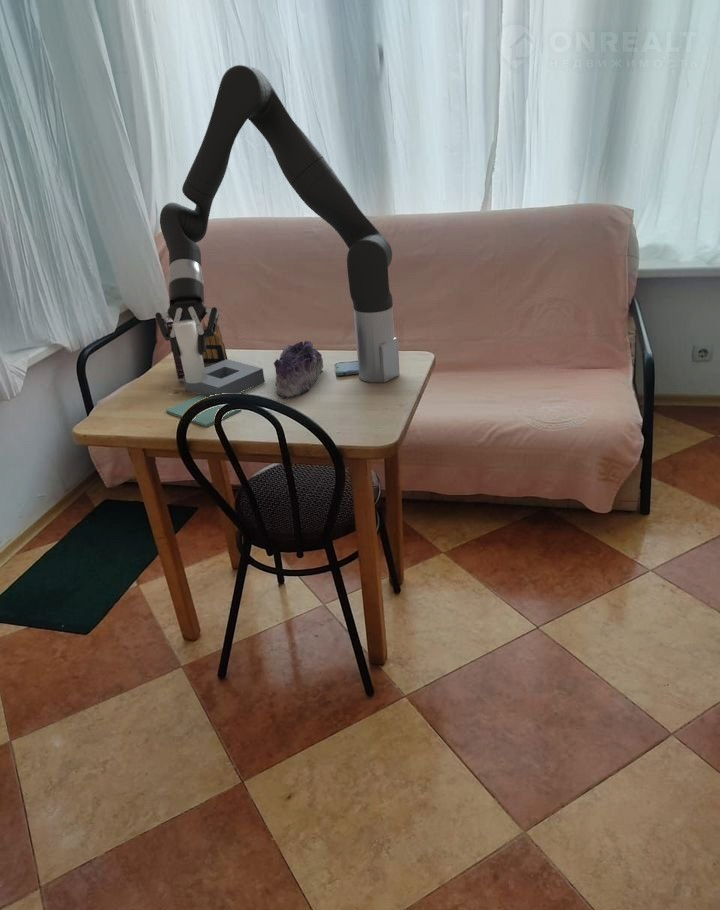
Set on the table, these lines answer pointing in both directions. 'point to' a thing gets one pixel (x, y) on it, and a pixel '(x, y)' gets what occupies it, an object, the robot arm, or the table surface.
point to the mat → (201, 419)
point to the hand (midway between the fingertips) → (189, 354)
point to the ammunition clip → (214, 347)
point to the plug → (190, 351)
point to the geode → (297, 369)
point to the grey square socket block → (227, 378)
